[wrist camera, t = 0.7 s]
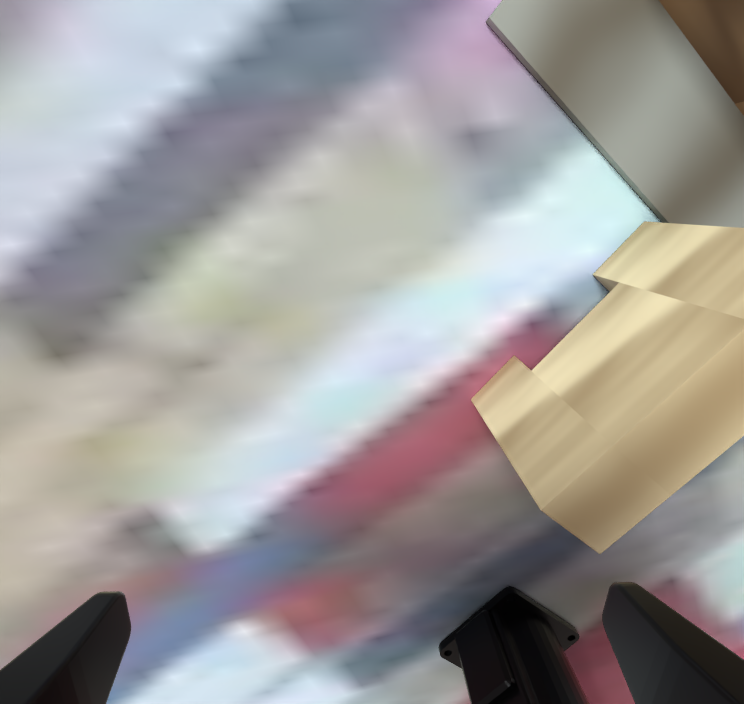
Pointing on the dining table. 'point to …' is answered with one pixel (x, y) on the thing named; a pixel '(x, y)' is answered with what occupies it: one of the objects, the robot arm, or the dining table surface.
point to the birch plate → (631, 384)
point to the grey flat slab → (647, 92)
